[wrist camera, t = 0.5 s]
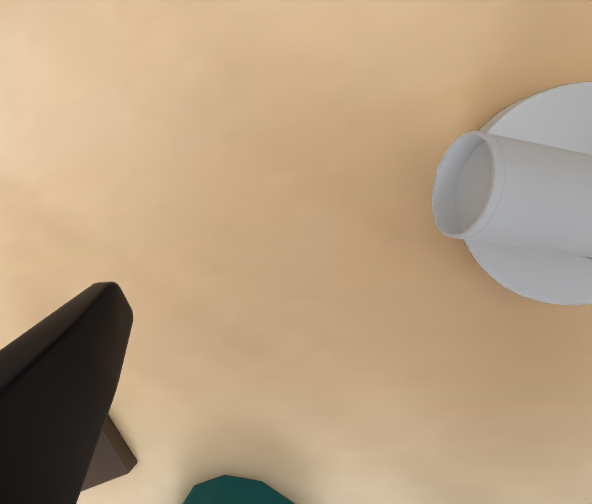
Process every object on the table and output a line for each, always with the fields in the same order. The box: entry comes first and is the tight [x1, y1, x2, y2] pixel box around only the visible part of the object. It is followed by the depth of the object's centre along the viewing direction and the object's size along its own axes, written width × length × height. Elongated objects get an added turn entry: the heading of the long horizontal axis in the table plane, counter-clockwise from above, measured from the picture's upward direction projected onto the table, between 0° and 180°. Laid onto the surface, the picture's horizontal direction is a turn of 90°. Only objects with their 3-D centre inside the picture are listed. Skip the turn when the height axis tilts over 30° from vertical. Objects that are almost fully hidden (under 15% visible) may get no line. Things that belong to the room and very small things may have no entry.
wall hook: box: [432, 82, 592, 305], centre depth 15 cm, size 9×10×10 cm
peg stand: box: [81, 415, 137, 491], centre depth 26 cm, size 8×8×8 cm
